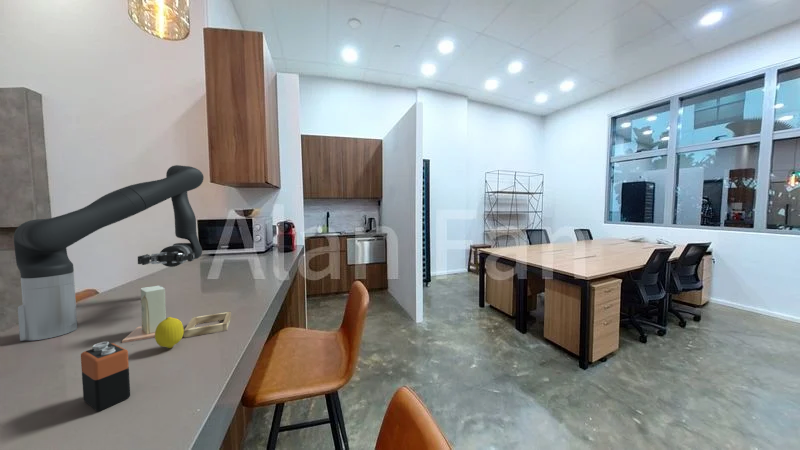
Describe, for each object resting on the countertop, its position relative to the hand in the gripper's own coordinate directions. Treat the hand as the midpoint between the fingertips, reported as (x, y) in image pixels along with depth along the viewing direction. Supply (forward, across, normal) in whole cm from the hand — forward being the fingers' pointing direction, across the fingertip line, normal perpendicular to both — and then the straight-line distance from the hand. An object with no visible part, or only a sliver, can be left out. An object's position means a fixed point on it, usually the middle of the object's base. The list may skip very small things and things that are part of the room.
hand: (160, 260), depth 86 cm
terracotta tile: (+10, +1, +20) cm, 22 cm away
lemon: (+25, +8, +20) cm, 33 cm away
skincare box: (+9, +1, +19) cm, 21 cm away
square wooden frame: (+14, +15, +19) cm, 28 cm away
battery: (+44, +4, +20) cm, 48 cm away
